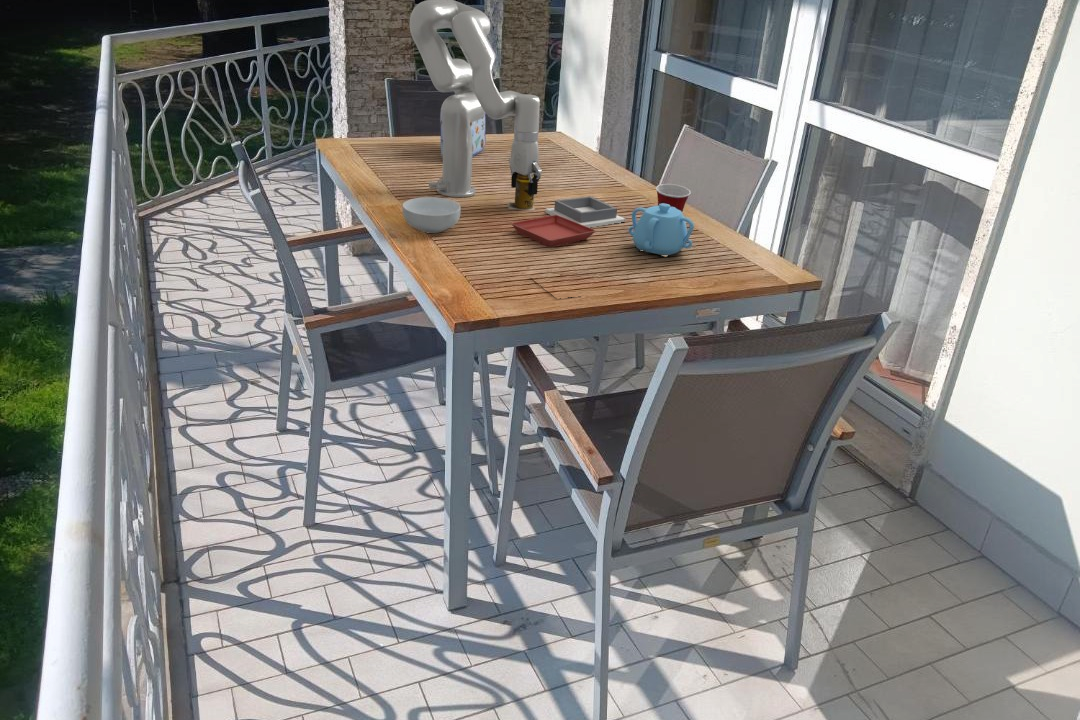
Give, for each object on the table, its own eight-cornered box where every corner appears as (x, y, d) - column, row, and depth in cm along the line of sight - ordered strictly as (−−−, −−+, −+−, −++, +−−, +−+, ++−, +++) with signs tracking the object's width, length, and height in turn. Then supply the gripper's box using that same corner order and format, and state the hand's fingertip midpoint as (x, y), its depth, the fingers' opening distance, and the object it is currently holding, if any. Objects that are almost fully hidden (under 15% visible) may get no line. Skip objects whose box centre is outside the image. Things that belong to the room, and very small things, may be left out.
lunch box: (461, 166, 317) (463, 104, 307) (435, 162, 320) (436, 101, 310) (488, 151, 341) (490, 93, 331) (463, 147, 343) (465, 90, 333)
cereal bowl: (396, 220, 256) (396, 197, 252) (450, 218, 261) (451, 195, 258) (410, 239, 242) (410, 215, 238) (467, 236, 247) (468, 212, 244)
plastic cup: (656, 231, 265) (661, 193, 259) (646, 220, 274) (651, 183, 269) (690, 232, 267) (696, 194, 261) (679, 221, 276) (684, 184, 271)
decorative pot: (693, 260, 243) (701, 214, 237) (638, 259, 241) (645, 212, 235) (676, 241, 258) (683, 197, 252) (624, 240, 255) (630, 195, 249)
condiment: (535, 210, 275) (538, 173, 269) (509, 209, 274) (511, 172, 268) (532, 203, 281) (535, 167, 276) (506, 203, 280) (508, 166, 275)
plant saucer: (509, 233, 254) (510, 222, 253) (555, 224, 265) (556, 213, 264) (549, 251, 242) (550, 240, 241) (595, 241, 253) (596, 230, 252)
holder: (578, 229, 261) (580, 216, 259) (545, 212, 274) (546, 199, 272) (624, 222, 270) (626, 209, 268) (590, 206, 283) (591, 193, 281)
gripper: (501, 131, 272) (499, 185, 279) (531, 143, 259) (529, 198, 266) (521, 130, 276) (519, 183, 283) (552, 141, 263) (549, 196, 270)
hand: (524, 190), depth 275 cm, fingers open, 9 cm apart
